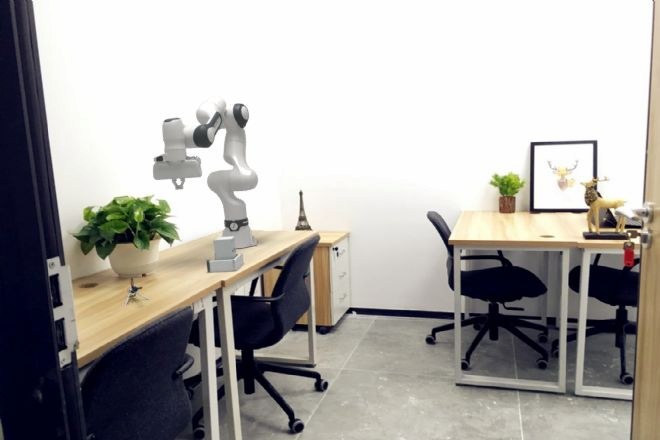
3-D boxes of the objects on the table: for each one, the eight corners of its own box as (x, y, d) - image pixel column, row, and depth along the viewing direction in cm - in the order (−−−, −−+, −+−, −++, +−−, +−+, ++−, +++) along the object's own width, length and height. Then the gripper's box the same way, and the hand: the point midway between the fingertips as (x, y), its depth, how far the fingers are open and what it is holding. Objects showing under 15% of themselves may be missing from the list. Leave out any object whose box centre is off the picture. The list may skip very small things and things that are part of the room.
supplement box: (233, 269, 203) (230, 239, 201) (215, 270, 203) (212, 240, 201) (237, 265, 210) (235, 235, 208) (220, 266, 211) (217, 236, 209)
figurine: (145, 312, 176) (153, 310, 159) (119, 308, 173) (124, 306, 155) (151, 283, 179) (160, 278, 161) (126, 279, 175) (132, 274, 158)
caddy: (216, 264, 213) (215, 252, 213) (243, 263, 213) (242, 251, 212) (207, 272, 200) (206, 259, 199) (236, 270, 200) (235, 258, 199)
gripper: (202, 155, 212) (205, 187, 214) (155, 158, 213) (159, 190, 215) (197, 155, 206) (201, 188, 208) (149, 158, 207) (153, 191, 209)
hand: (179, 189), depth 212 cm, fingers closed
